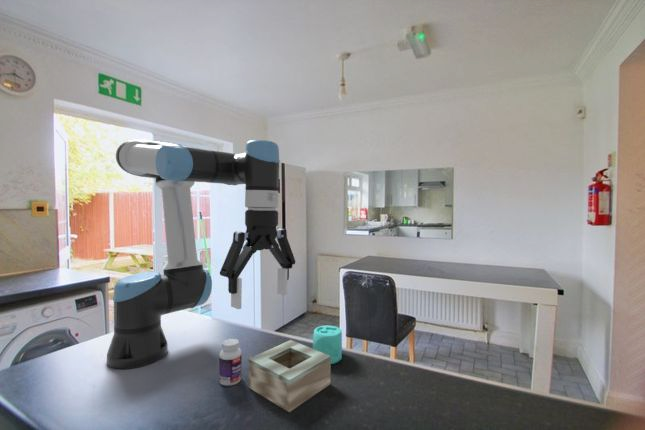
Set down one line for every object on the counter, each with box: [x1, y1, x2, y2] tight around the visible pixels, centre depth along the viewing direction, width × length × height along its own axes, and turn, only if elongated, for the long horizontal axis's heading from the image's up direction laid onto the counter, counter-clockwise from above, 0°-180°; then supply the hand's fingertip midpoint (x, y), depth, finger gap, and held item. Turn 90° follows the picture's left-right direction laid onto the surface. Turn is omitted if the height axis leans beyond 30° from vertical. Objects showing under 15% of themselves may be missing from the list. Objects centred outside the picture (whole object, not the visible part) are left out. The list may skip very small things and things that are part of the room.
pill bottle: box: [218, 338, 243, 387], centre depth 78 cm, size 5×5×10 cm
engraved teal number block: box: [312, 324, 343, 365], centre depth 90 cm, size 8×8×8 cm
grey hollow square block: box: [248, 339, 332, 413], centre depth 76 cm, size 14×14×7 cm
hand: (260, 300), depth 73 cm, fingers open, 13 cm apart
